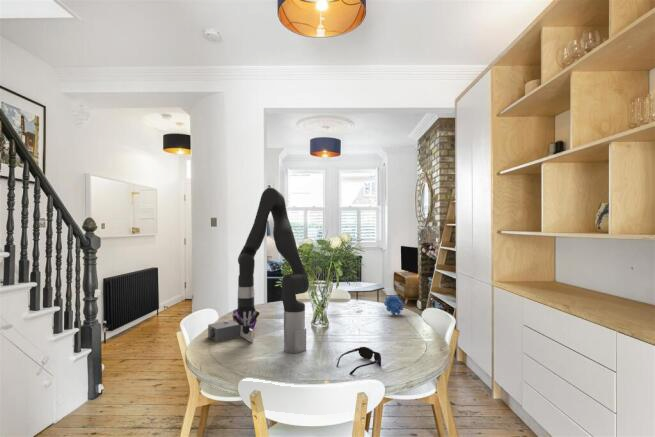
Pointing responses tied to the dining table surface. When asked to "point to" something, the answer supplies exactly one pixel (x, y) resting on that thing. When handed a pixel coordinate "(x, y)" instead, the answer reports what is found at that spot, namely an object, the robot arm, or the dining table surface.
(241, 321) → the toy camera
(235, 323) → the camera case
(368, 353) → the sunglasses
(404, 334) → the dining table surface
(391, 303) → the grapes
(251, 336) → the side door
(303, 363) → the dining table surface
